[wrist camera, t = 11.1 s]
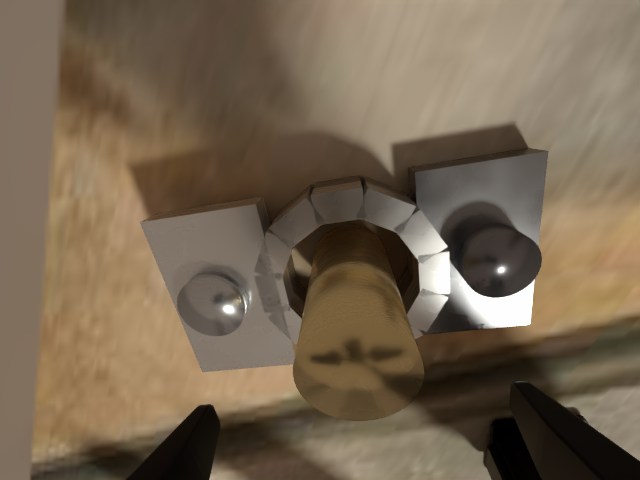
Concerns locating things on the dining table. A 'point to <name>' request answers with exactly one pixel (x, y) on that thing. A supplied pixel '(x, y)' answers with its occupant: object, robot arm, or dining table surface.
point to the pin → (355, 332)
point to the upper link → (277, 269)
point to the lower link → (476, 234)
